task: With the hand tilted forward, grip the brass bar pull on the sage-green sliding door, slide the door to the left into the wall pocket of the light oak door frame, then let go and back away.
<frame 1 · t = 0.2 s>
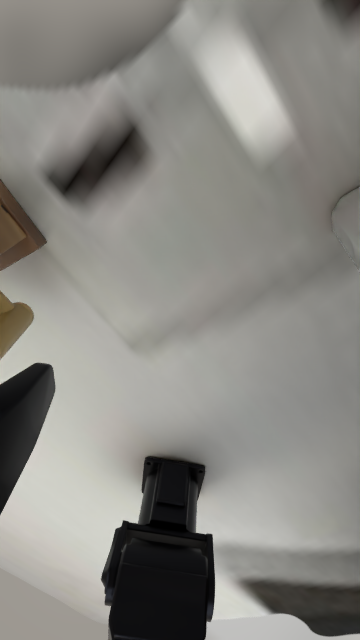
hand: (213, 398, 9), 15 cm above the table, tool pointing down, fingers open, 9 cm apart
milkshake: (350, 217, 20), on the table
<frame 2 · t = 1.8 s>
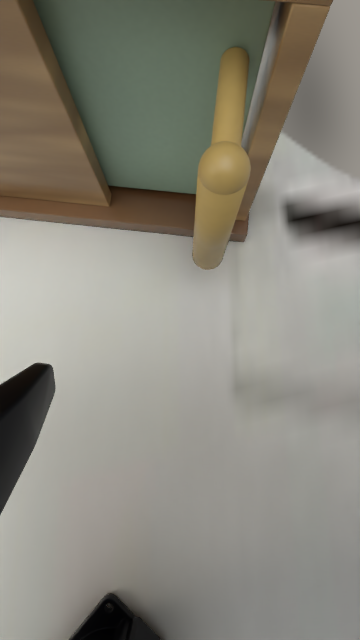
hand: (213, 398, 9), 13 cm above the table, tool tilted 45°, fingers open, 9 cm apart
door frame: (104, 189, 24), on the table
door: (147, 166, 16), point 8 cm above the table, slide at 0.0 cm
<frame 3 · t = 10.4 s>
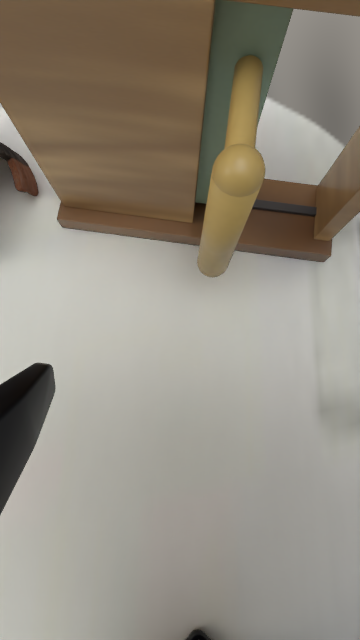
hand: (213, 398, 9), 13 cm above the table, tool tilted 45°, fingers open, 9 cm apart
door frame: (181, 205, 24), on the table
door: (156, 170, 16), point 8 cm above the table, slide at 5.5 cm
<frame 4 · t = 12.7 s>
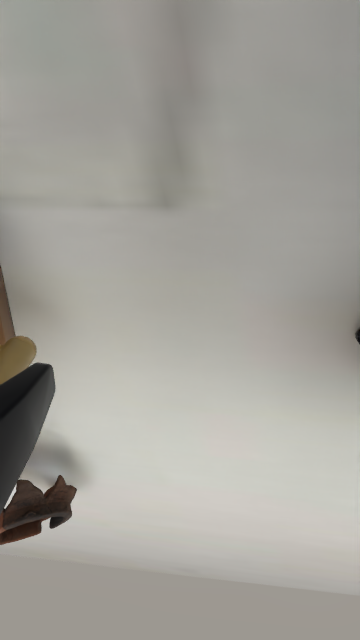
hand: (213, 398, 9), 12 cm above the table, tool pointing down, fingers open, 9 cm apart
brown miniature stool: (25, 459, 33), on the table
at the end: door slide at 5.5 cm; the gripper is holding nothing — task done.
